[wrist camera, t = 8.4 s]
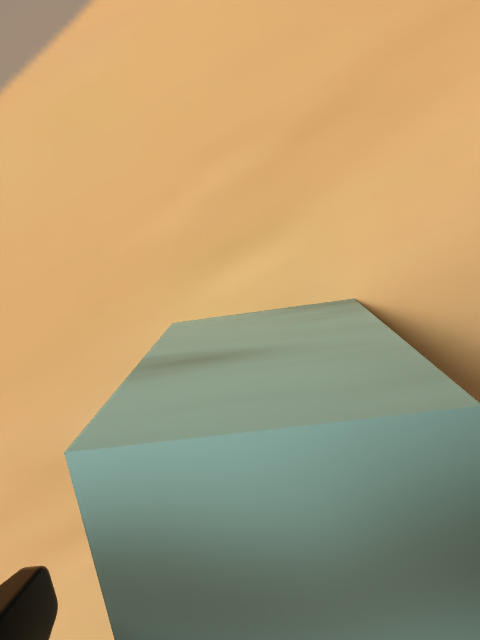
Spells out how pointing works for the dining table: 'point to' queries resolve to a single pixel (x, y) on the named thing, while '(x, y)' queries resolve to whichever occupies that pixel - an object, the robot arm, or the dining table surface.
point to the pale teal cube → (284, 485)
